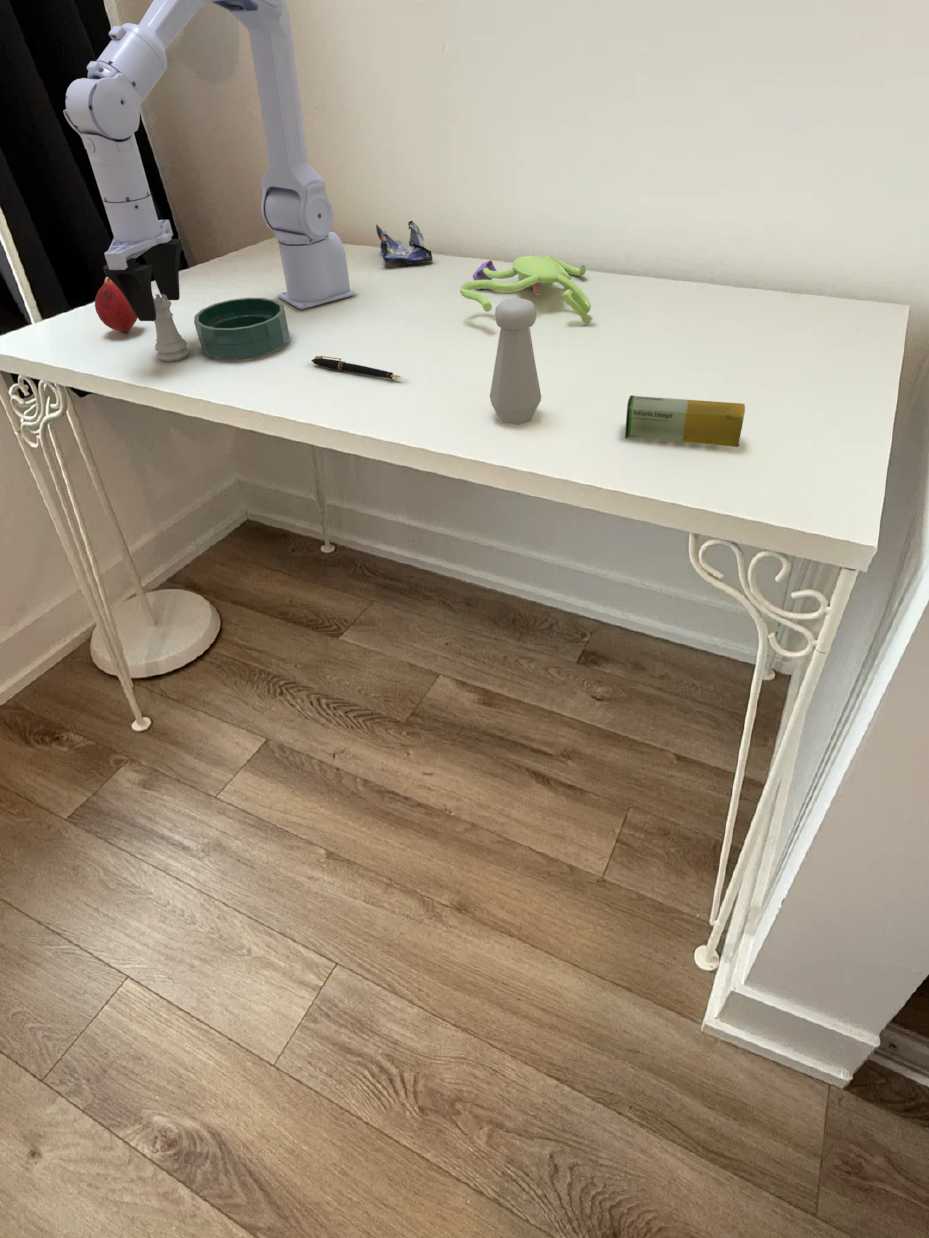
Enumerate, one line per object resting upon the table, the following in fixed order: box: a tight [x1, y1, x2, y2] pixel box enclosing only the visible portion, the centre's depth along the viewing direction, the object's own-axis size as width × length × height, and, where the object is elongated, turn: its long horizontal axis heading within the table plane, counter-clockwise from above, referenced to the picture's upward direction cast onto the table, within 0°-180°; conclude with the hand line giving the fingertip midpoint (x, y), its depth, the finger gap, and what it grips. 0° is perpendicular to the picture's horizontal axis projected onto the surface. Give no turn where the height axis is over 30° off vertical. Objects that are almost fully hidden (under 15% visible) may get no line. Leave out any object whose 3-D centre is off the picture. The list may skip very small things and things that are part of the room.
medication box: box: [624, 394, 746, 448], centre depth 83 cm, size 12×3×4 cm, turn 73°
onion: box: [94, 276, 139, 334], centre depth 114 cm, size 6×6×8 cm
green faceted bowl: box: [193, 297, 291, 360], centre depth 109 cm, size 12×12×4 cm
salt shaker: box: [489, 297, 542, 426], centre depth 86 cm, size 6×6×13 cm
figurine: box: [459, 254, 592, 325], centre depth 117 cm, size 18×27×6 cm
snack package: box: [375, 220, 433, 268], centre depth 136 cm, size 12×6×12 cm
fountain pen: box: [310, 355, 402, 380], centre depth 101 cm, size 14×1×2 cm, turn 62°
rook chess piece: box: [153, 293, 190, 363], centre depth 106 cm, size 4×4×8 cm
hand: (160, 309), depth 105 cm, fingers open, 7 cm apart
